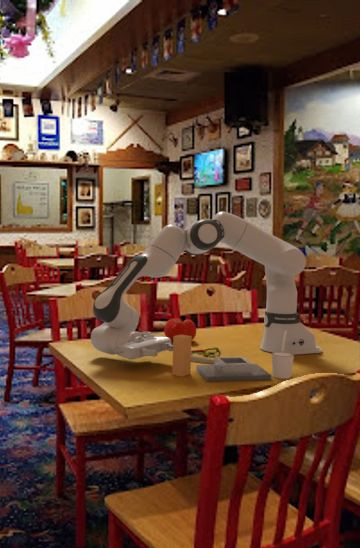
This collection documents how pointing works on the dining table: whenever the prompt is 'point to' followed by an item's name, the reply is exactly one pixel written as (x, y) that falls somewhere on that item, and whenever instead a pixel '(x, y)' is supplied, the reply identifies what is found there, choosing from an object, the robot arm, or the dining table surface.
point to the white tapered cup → (282, 364)
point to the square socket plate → (232, 370)
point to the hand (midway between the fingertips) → (165, 351)
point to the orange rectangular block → (181, 355)
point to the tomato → (179, 328)
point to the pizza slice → (205, 355)
